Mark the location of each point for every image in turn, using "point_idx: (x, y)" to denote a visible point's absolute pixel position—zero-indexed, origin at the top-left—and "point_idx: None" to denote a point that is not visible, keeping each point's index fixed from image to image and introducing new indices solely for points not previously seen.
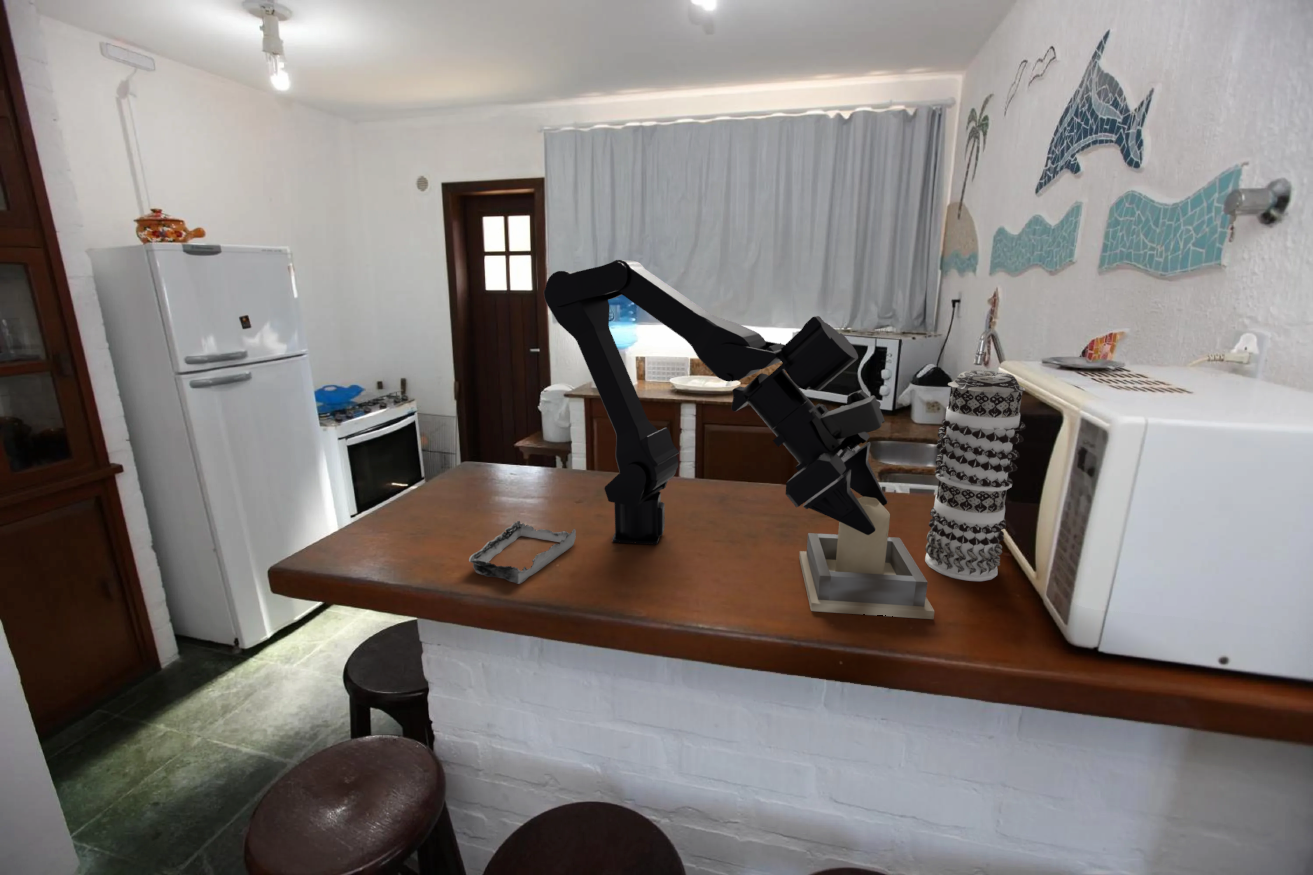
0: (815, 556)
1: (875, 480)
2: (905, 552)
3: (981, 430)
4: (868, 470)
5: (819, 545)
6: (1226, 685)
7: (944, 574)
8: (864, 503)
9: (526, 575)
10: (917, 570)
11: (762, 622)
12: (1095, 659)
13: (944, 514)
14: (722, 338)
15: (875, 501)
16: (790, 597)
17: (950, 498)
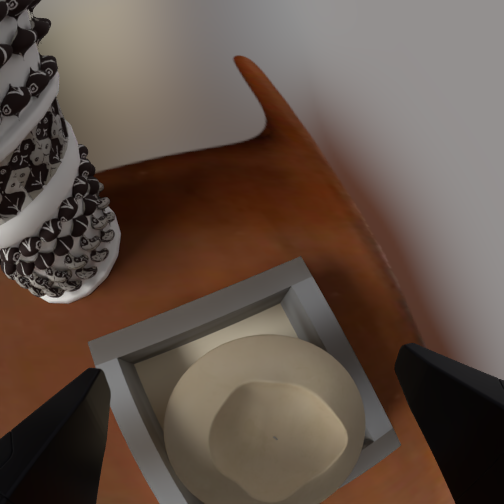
0: None
1: (45, 431)
2: (169, 319)
3: None
4: (22, 481)
5: None
6: (246, 69)
7: (111, 267)
8: (243, 449)
9: None
10: (258, 281)
11: (437, 468)
12: (266, 121)
13: (44, 217)
14: None
15: (227, 406)
16: (358, 485)
17: (29, 177)
